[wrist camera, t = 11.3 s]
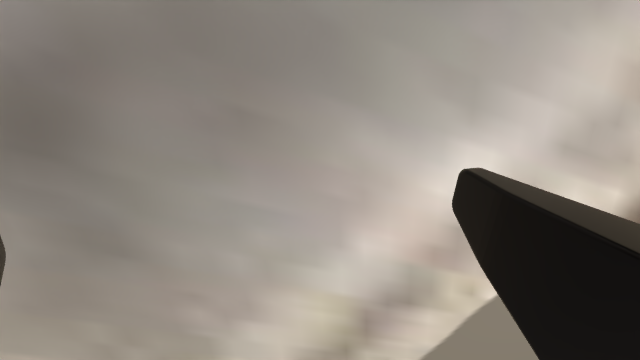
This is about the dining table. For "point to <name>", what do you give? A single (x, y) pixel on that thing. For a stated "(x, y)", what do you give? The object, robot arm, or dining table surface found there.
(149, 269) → the dining table surface
